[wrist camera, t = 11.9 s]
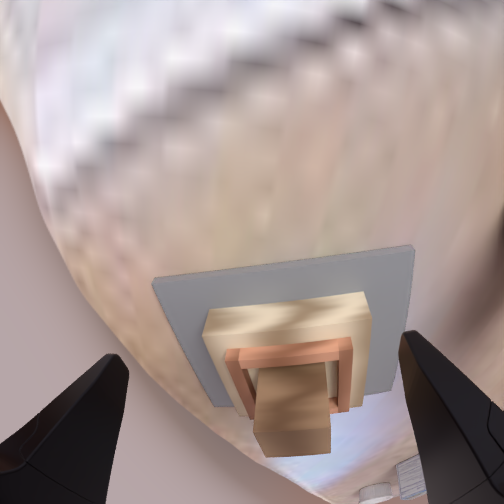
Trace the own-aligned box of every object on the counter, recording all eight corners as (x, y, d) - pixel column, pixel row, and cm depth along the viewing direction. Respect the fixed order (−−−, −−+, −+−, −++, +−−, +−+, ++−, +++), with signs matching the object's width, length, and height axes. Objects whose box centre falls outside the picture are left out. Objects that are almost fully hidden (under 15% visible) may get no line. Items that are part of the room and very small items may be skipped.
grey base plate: (411, 244, 20) (415, 250, 20) (389, 385, 29) (391, 390, 29) (154, 277, 24) (151, 283, 23) (215, 401, 33) (214, 406, 32)
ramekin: (385, 488, 56) (386, 501, 52) (353, 493, 57) (354, 506, 53) (397, 479, 51) (398, 493, 48) (363, 484, 52) (364, 499, 48)
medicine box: (405, 465, 45) (410, 499, 38) (394, 464, 44) (399, 500, 37) (437, 450, 42) (444, 485, 34) (428, 448, 41) (435, 486, 33)
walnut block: (324, 357, 22) (330, 427, 17) (326, 392, 24) (330, 453, 19) (259, 364, 23) (253, 432, 17) (269, 397, 25) (265, 457, 20)
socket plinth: (363, 291, 22) (375, 330, 18) (358, 381, 28) (363, 416, 24) (209, 309, 24) (198, 348, 20) (242, 392, 30) (238, 426, 26)
